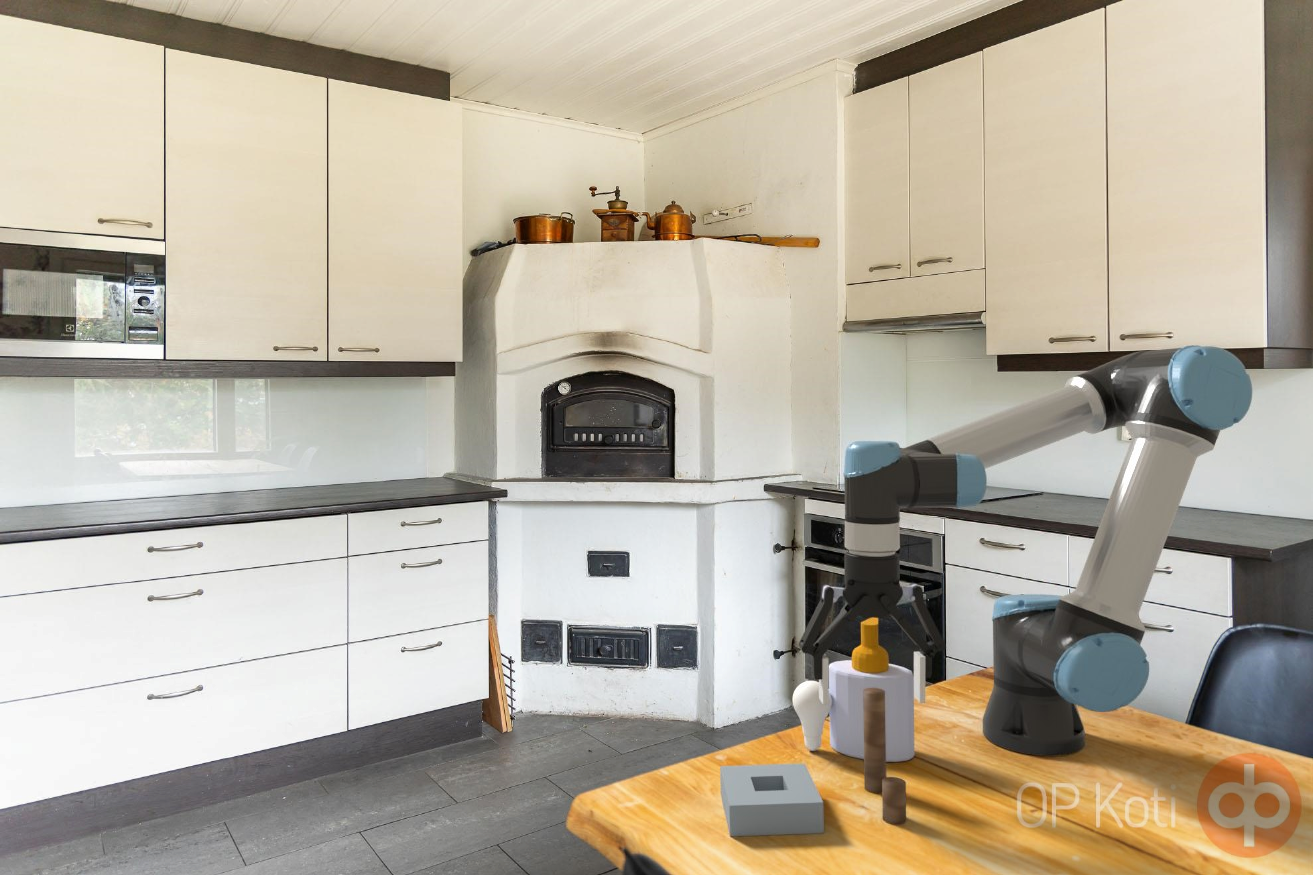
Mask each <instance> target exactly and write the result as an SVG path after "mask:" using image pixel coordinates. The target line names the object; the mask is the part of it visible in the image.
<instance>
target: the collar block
mask: <svg viewBox="0 0 1313 875" xmlns="http://www.w3.org/2000/svg"><path fill="white" fill-rule="evenodd" d="M719 768H720V769H719V772H720V773H719V776H720V777H719V778H720V796H721V797H720V798H721V801H722V807H723V811H724V815H725V820H726V825H727V828H728V832H729V833H728V834H729V837H748V836H751V837H752V836H775V835H778V836H779V835H780V836H781V835H804V834H805V835H807V834H824V833H825V831H824V829H825V826H824V821H825V819H824V818H825V817H824V801H823V799H822V797H821V794H820V793H819V790H818V789H817V786H816V783H815V782H814V780H813V777H812V776H811V774H810V771H809V768H808V767H807V765H806V763H805V762H802V763H798V762H797V763H776V764H775V763H774V764H745V765H719Z"/></svg>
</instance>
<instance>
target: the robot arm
mask: <svg viewBox="0 0 1313 875" xmlns="http://www.w3.org/2000/svg"><path fill="white" fill-rule="evenodd" d="M1252 399H1253V386H1252V380H1251V377H1250V374H1248V373H1247V371H1246V366H1245V365H1244V363H1243V362H1242V361H1241V360H1240V359H1239V358H1238V357H1237V356H1236V355H1235V354H1234V353H1232V352H1230V351H1229V350H1226V349H1225V348H1221V347H1217V346H1210V345H1209V346H1208V345H1207V346H1203V345H1202V346H1201V345H1197V344H1196V345H1192V344H1191V345H1186V346H1183V347H1177V348H1165V349H1163V348H1162V349H1149V350H1148V349H1147V350H1141V351H1137V352H1136V351H1135V352H1132V353H1129V354H1126V355H1123V356H1120V357H1118V358H1115V359H1113V360H1110V361H1109V362H1106V363H1104V364H1101V365H1099V366H1097V367H1094V368H1092V369H1090V370H1087V371H1085V372H1082V373H1080V374H1077V375H1075V376H1073V377H1070V378H1068V379H1067V381H1066V382H1065V385H1064V386H1063V387H1062V388H1059V389H1056V390H1053V391H1052V392H1048V393H1046V394H1043V395H1040V396H1037V397H1035V398H1032V399H1030V400H1027V401H1025V402H1022V403H1019V404H1017V405H1014V406H1011V407H1008V408H1006V409H1004V410H1001V411H998V412H996V413H993V414H990V415H988V416H985V417H982V418H980V419H978V420H975V421H972V422H970V423H966V424H963V425H962V426H959V427H957V428H954V429H950V430H949V431H945V432H943V433H941V434H938V435H935V436H932V437H930V438H927V439H926V440H923V441H919V442H917V443H914V444H911V445H908V446H906V447H900V445H899V443H898V442H896V441H888V440H879V441H878V440H877V441H875V440H861V441H859V440H858V441H852V442H850V443H849V444H848V445H847V446H846V448H845V456H844V467H843V468H844V471H843V477H844V478H843V479H844V481H843V482H844V547H845V548H846V550H847V551H846V552H845V554H844V582H843V585H842V586H841V587H839V586H830V585H829V584H828V583H827V584H826V583H825V584H823V585H822V586H821V593H820V599H819V602H818V603H817V606H816V607H815V610H814V612H813V614H812V615H811V618H810V620H809V621H808V623H807V626H806V628H805V629H804V632H803V634H802V636H801V638H800V639H799V642H798V647H799V649H800V650H801V652H802V653H804V654H808V655H810V656H811V674H812V676H813V679H814V681H817V680H818V682H819V699H820V701H821V702H822V704H823V705H829V695H828V690H829V658H828V656H827V654H826V653H827V651H828V650H829V649H830V648H831V646H833V644H834V643H836V642H835V641H837V640H838V638H839V637H840V636H841V635H842V634H843V632H844V631H845V630H846V628H848V627H849V625H850V624H852V623H853V622H854V621H855V620H856V619H857V617H859V618H862V620H863V619H864V620H867V619H869V618H878V619H886V617H888V616H890V617H891V618H892V619H893V620H894V621H895V623H897V625H898V626H899V627H900V628H901V629H902V631H903V632H904V633H905V634H906V635H907V636H908V638H909V639H910V640H911V641H912V642H913V643H914V645H915V646H916V647H917V648H918V649H919V651H913V676H914V699H916V701H917V702H918V703H919V704H926V679H927V678H928V679H929V678H931V677H932V675H933V658H934V657H935V656H936V653H938V652H944V651H945V650H946V648H947V646H946V643H945V640H944V639H943V637H942V635H941V633H940V631H939V629H938V627H937V625H936V624H935V622H934V619H933V617H932V615H931V613H930V611H929V609H928V607H927V606H926V602H925V599H924V598H925V597H924V591H923V588H922V587H921V586H919V585H918V584H917V583H915V582H911V583H909V585H903V586H901V583H900V580H901V579H900V577H901V576H900V569H901V568H900V564H901V562H900V561H901V560H900V556H901V555H899V553H898V552H897V551H899V549H900V547H901V542H900V541H901V540H900V539H901V538H900V536H901V535H900V532H901V531H900V519H901V516H900V515H901V509H916V508H917V509H922V508H923V509H924V508H925V509H928V508H930V509H931V508H933V509H934V508H935V509H937V508H938V509H939V508H941V509H943V508H946V509H947V508H955V509H956V510H957V509H960V508H967V507H974V506H975V507H976V506H977V505H979V504H980V503H981V502H982V501H983V499H984V497H985V495H986V492H987V485H988V484H987V483H988V482H987V481H988V480H987V472H986V469H987V468H991V467H994V466H996V465H999V464H1001V463H1004V462H1007V461H1009V460H1012V459H1015V458H1017V457H1020V456H1023V455H1026V454H1027V453H1030V452H1033V451H1035V450H1038V449H1041V448H1044V447H1046V446H1048V445H1051V444H1054V443H1056V442H1060V441H1061V440H1064V439H1067V438H1069V437H1072V436H1075V435H1077V434H1081V433H1082V432H1086V433H1087V434H1091V435H1095V434H1098V433H1100V432H1103V431H1107V430H1109V429H1114V428H1120V427H1125V428H1126V431H1127V432H1128V433H1129V435H1130V437H1131V438H1130V439H1131V440H1130V443H1129V446H1128V449H1127V451H1126V454H1125V457H1124V459H1123V462H1122V464H1121V467H1120V470H1119V473H1118V475H1117V478H1116V481H1115V483H1114V486H1113V489H1112V492H1111V493H1110V494H1111V495H1110V496H1109V499H1108V502H1107V503H1106V504H1107V505H1106V508H1105V510H1104V513H1103V516H1102V517H1101V521H1100V524H1099V525H1098V526H1099V527H1098V528H1097V531H1096V534H1095V537H1094V539H1093V542H1092V545H1091V547H1090V550H1089V553H1088V555H1087V558H1086V561H1085V562H1084V566H1083V569H1082V571H1081V574H1080V576H1079V580H1078V581H1077V585H1076V587H1075V589H1074V590H1073V591H1072V592H1070V593H1068V594H1065V595H1058V594H1039V593H1037V594H1036V593H1035V594H1034V593H1033V594H1032V593H1031V594H1028V593H1025V594H1010V595H1003V596H999V597H998V598H996V599H995V601H994V603H993V610H992V617H991V621H992V643H993V644H992V651H993V655H992V656H993V659H992V660H993V661H992V662H993V663H992V664H993V687H992V691H991V693H990V697H989V699H988V702H987V704H986V707H985V710H984V713H983V715H982V716H983V717H982V734H983V737H985V738H986V739H987V740H988V741H989V742H991V743H993V744H994V745H996V746H999V747H1001V748H1004V749H1007V750H1010V751H1013V752H1017V753H1020V754H1022V753H1023V754H1026V755H1027V754H1028V755H1035V756H1050V757H1051V756H1054V757H1055V756H1067V755H1072V754H1075V753H1077V752H1079V751H1082V750H1083V749H1084V747H1085V745H1086V730H1085V727H1084V726H1085V725H1083V721H1082V718H1081V715H1080V712H1079V709H1078V707H1080V708H1081V707H1082V708H1083V709H1086V710H1088V711H1091V712H1097V713H1109V712H1114V711H1117V710H1118V709H1120V708H1123V707H1126V706H1128V705H1130V704H1132V702H1134V701H1135V700H1136V699H1137V698H1138V697H1139V696H1140V695H1141V693H1142V692H1143V691H1144V689H1145V687H1146V685H1147V683H1148V680H1149V676H1150V662H1149V661H1148V660H1147V653H1146V652H1145V650H1144V648H1143V647H1142V646H1141V644H1142V641H1143V638H1144V636H1145V634H1146V630H1147V629H1146V627H1145V625H1144V623H1143V622H1142V619H1141V618H1140V614H1139V613H1140V611H1141V608H1142V606H1143V602H1144V600H1145V598H1146V595H1147V593H1148V590H1149V587H1150V584H1151V582H1152V579H1153V577H1154V573H1155V570H1156V568H1157V565H1158V563H1159V560H1160V557H1161V554H1162V552H1163V551H1164V550H1163V549H1164V546H1165V544H1166V541H1167V540H1168V535H1169V533H1170V530H1171V528H1172V525H1173V522H1174V521H1175V517H1176V515H1177V512H1178V509H1179V507H1180V504H1181V500H1182V498H1183V496H1184V493H1185V490H1186V487H1187V485H1188V482H1189V479H1190V477H1191V474H1192V471H1193V469H1194V467H1195V464H1196V461H1197V459H1198V458H1199V457H1200V456H1203V455H1204V454H1207V453H1210V452H1212V451H1213V450H1214V448H1215V446H1216V442H1217V439H1218V438H1219V435H1220V432H1221V431H1222V430H1226V429H1228V428H1231V427H1233V426H1234V425H1235V424H1237V423H1240V422H1241V421H1242V420H1243V419H1244V417H1245V416H1246V415H1247V414H1248V411H1249V410H1250V407H1251V404H1252ZM903 596H905V599H906V600H908V601H909V602H911V603H910V604H911V605H912V608H913V609H914V611H915V613H916V615H917V617H918V620H919V622H920V623H921V625H922V627H923V629H924V631H925V633H926V635H927V637H928V639H929V641H926V639H924V638H923V637H922V635H921V634H920V633H919V632H918V630H917V629H916V628H915V627H914V626H913V625H912V624H911V622H909V620H908V618H907V617H906V616H904V614H903V613H902V612H901V610H900V609H899V608H898V607H897V604H898V603H899V602H900V600H901V599H902V598H903ZM840 597H842V598H843V599H844V601H845V602H846V603H845V604H844V606H843V607H842V608H841V609H840V612H839V614H838V615H836V617H835V618H834V619H833V621H832V622H831V623H830V624H829V625H828V626H827V628H826V629H825V630H824V631H823V632H822V634H821V635H820V636H819V638H818V635H819V634H820V632H821V629H822V628H823V626H824V624H825V622H826V620H827V618H828V615H829V614H830V611H831V610H832V607H833V604H834V603H836V602H837V601H838V599H839V598H840ZM1077 706H1078V707H1077Z"/></svg>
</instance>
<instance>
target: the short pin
mask: <svg viewBox="0 0 1313 875" xmlns="http://www.w3.org/2000/svg"><path fill="white" fill-rule="evenodd" d="M906 784H907V782H906V781H905V780H904V779H903V778H899V777H896V776H886V778H884V779H883V780H882V793H881V794H882V795H881V797H882V800H881V801H882V802H881V803H882V804H881V805H882V810H881V811H882V820H883V821H884V822H885V823H887V824H890V825H894V826H896V825H897V826H899V825H903V824H905V823H906V822H907V785H906Z"/></svg>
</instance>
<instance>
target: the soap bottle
mask: <svg viewBox="0 0 1313 875" xmlns="http://www.w3.org/2000/svg"><path fill="white" fill-rule="evenodd" d="M889 662H890V661H889V653H888V651H887V650H886V649H885V648H884V647H883V646H881V645H879V618H875V617H872V618H869V619H864V620H863V621H861V622H860V645H858V646H857V647H855V648H854V649H853V650H852V653H851V659H848V660H847V659H846V660H840V661H839V660H837V661H833V662H831V663H829V664H828V690H829V692H830V694H831V698H832V706H831V709H830V712H829V745H830V747H831V749H833V750H835V751H836V752H837V753H840V754H843V755H845V756H848V757H852V758H856V759H862V760H864V720H863V690H864V689H866V688H879V689H882V690H884V691H885V731H886V763H889V762H891V763H898V762H905V761H910V760H911V759H912V758H914V757H915V697H914V673H913V671H912V670H910V669H908V668H906V667H904V666H900V665H896V664H892V663H889Z"/></svg>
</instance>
